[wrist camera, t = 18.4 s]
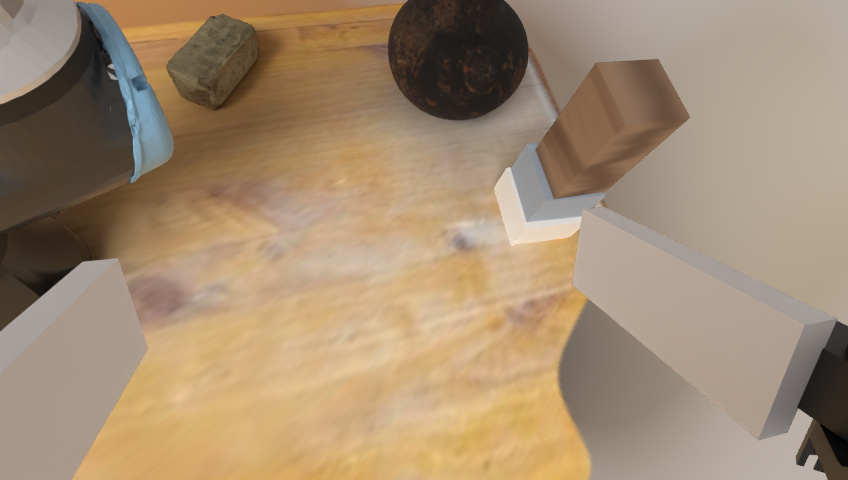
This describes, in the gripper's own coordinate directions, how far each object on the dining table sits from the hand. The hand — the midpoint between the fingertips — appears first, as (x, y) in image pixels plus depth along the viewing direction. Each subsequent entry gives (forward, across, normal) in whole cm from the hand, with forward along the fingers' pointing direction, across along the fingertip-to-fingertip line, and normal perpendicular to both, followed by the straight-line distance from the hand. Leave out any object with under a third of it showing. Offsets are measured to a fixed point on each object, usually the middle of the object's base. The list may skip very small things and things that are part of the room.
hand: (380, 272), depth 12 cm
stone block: (+52, -13, +5) cm, 53 cm away
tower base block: (+34, +24, -12) cm, 43 cm away
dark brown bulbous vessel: (+49, +17, +2) cm, 52 cm away
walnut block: (+27, +24, -5) cm, 37 cm away
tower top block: (+31, +24, -8) cm, 40 cm away
